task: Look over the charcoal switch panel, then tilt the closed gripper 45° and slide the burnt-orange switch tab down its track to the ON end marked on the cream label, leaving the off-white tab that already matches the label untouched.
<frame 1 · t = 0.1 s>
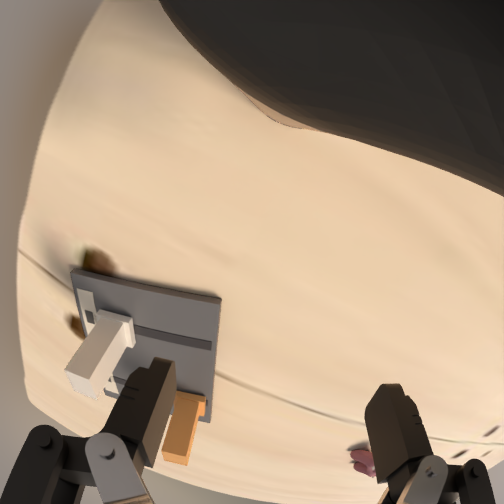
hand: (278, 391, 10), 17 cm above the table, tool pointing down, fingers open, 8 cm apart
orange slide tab: (182, 428, 31), point 6 cm above the table, slide at 0.0 cm
switch panel: (148, 358, 34), on the table
video game controller: (365, 453, 45), on the table
white slide tab: (100, 353, 26), point 6 cm above the table, slide at 9.0 cm
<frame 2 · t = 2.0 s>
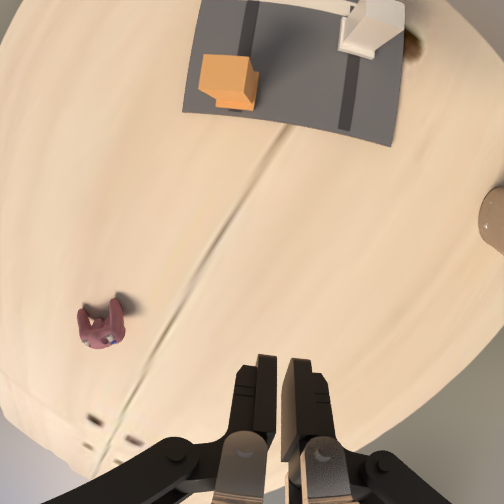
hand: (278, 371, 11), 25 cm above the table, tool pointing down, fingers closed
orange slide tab: (231, 82, 23), point 6 cm above the table, slide at 0.0 cm
switch panel: (299, 51, 26), on the table
video game controller: (106, 315, 43), on the table
white slide tab: (369, 25, 19), point 6 cm above the table, slide at 9.0 cm
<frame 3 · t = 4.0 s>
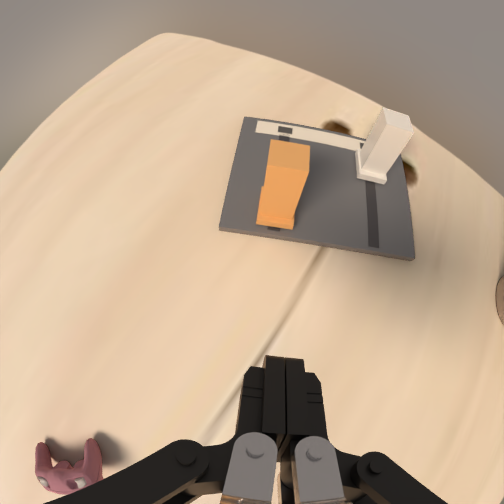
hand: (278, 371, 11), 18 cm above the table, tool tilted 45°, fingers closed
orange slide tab: (281, 185, 28), point 6 cm above the table, slide at 0.0 cm
switch panel: (325, 182, 36), on the table
video game controller: (77, 460, 22), on the table
white slide tab: (383, 145, 31), point 6 cm above the table, slide at 9.0 cm
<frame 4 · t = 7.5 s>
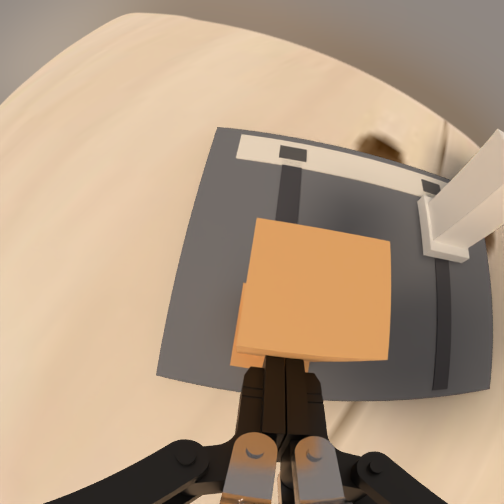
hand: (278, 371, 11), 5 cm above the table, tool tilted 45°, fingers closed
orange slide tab: (288, 319, 11), point 6 cm above the table, slide at 0.7 cm, touching gripper
switch panel: (367, 263, 18), on the table
white slide tab: (478, 201, 14), point 6 cm above the table, slide at 9.0 cm
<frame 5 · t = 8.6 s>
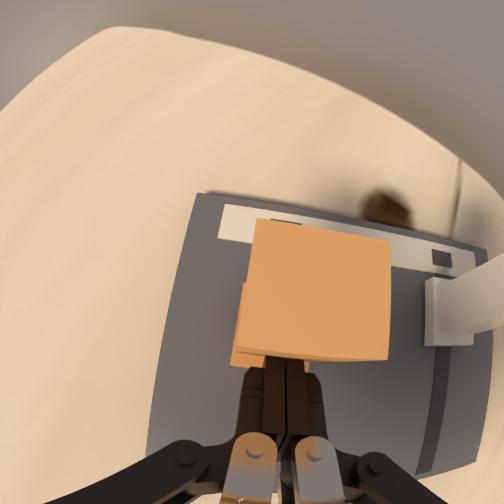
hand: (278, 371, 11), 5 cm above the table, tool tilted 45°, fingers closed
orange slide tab: (288, 319, 11), point 6 cm above the table, slide at 7.0 cm, touching gripper
switch panel: (362, 357, 16), on the table
white slide tab: (494, 297, 12), point 6 cm above the table, slide at 9.0 cm
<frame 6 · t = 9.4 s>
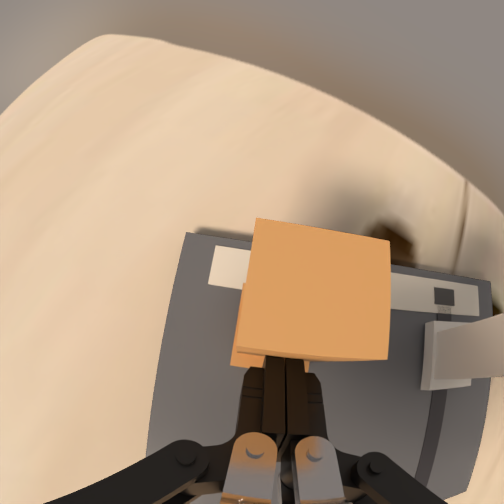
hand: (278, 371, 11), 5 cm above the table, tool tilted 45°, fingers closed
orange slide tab: (287, 318, 11), point 6 cm above the table, slide at 9.9 cm, touching gripper
switch panel: (356, 402, 15), on the table
white slide tab: (495, 348, 10), point 6 cm above the table, slide at 9.0 cm
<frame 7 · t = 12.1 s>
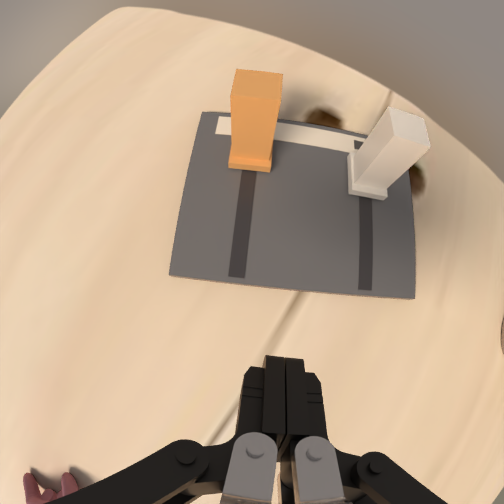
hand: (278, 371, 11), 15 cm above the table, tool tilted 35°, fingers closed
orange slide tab: (254, 122, 23), point 6 cm above the table, slide at 10.0 cm
switch panel: (306, 200, 28), on the table
video game controller: (60, 488, 19), on the table
white slide tab: (385, 155, 23), point 6 cm above the table, slide at 9.0 cm
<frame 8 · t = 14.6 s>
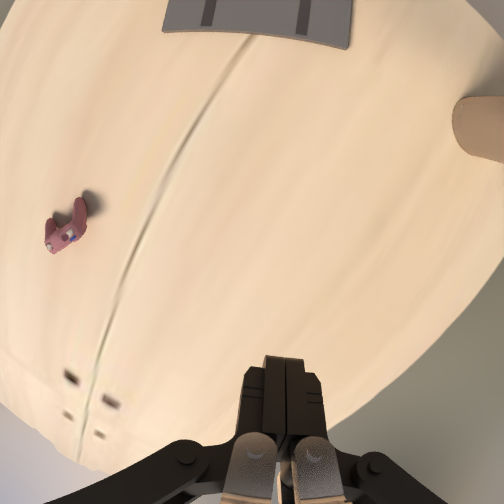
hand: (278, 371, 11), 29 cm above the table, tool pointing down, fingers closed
video game controller: (73, 221, 41), on the table
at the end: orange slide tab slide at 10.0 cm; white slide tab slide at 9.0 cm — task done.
